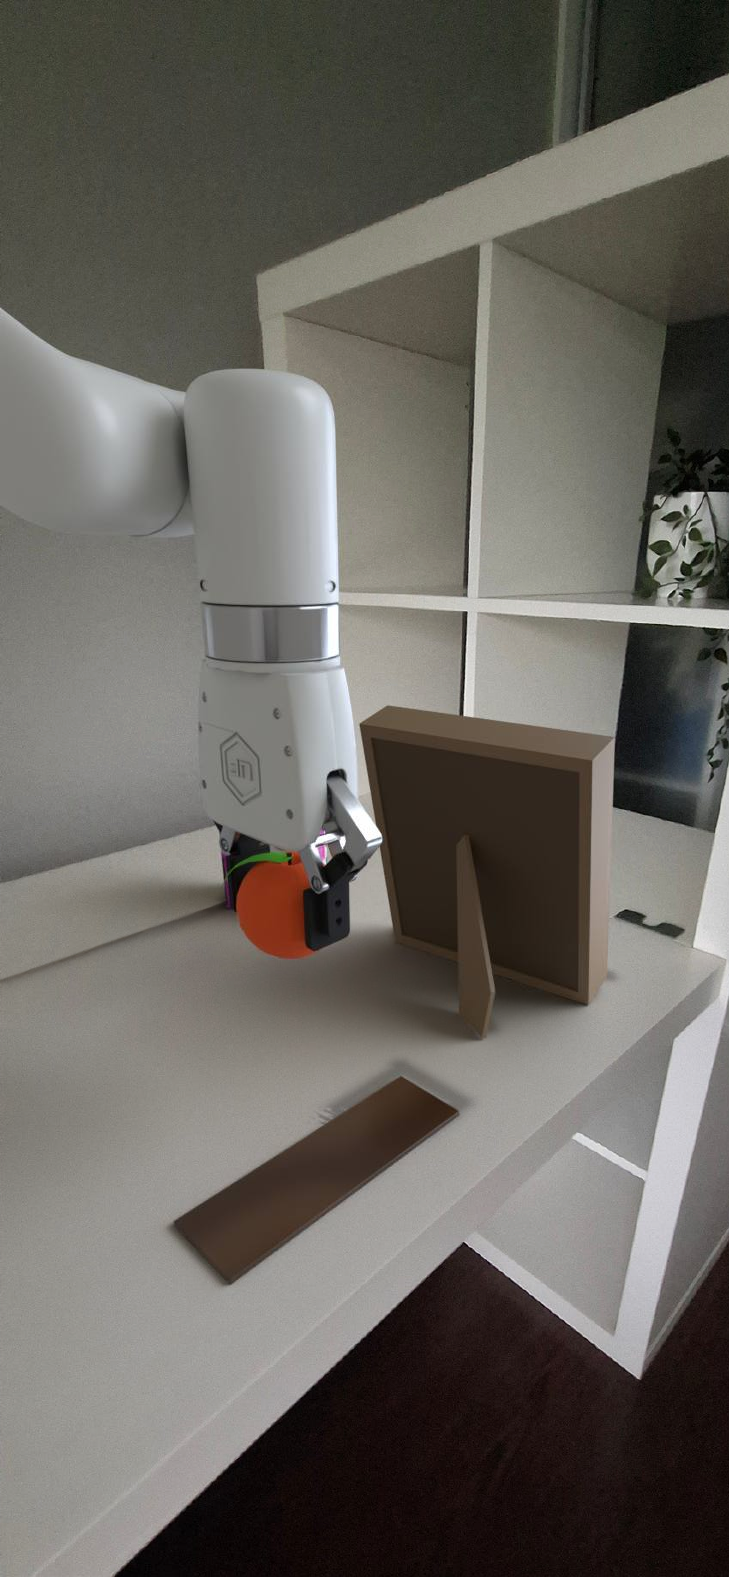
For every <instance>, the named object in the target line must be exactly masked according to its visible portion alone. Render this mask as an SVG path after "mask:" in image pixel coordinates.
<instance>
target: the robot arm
mask: <svg viewBox="0 0 729 1577" xmlns="http://www.w3.org/2000/svg"><path fill="white" fill-rule="evenodd" d="M335 421H336V419H335V412H334V406H333V403H332V401H331V398H330V396H329V394H328V393H327V391H326V389H325V388H323V387H322V386H321V385H320V384H319V383H318V382H317V381H315V380H313V379H310V378H308V377H306V376H303V375H301V374H297V373H294V372H289V371H288V372H287V371H283V370H276V369H275V370H273V369H263V368H227V369H226V368H225V369H219V370H218V369H217V370H214V371H210V372H207V373H204V374H201V375H198V377H196V378H195V379H194V380H193V381H192V382H191V383H190V384H189V386H188V388H187V390H186V391H182V390H177V389H172V388H169V387H165V386H163V385H160V384H156V383H153V382H149V381H147V380H144V379H142V378H139V377H137V376H133V375H130V374H127V373H125V372H121V371H118V370H116V369H113V368H109V367H106V366H105V365H104V366H103V365H101V364H98V363H95V362H92V361H90V360H89V361H88V360H85V359H81V358H78V357H75V356H72V355H69V354H67V353H64V352H63V351H61V350H59V349H58V348H56V347H54V346H53V345H52V344H50V343H48V342H47V341H45V340H44V339H43V338H41V337H39V336H38V335H36V334H35V333H34V332H32V331H31V330H30V329H28V328H27V327H26V326H25V325H24V324H22V323H21V322H20V321H18V319H16V318H14V317H13V315H10V314H9V313H8V312H7V311H5V310H4V309H3V308H2V307H0V507H1V508H4V509H5V510H7V511H8V512H10V513H12V514H13V515H15V516H17V517H19V518H21V519H23V520H25V521H27V522H29V523H30V524H33V525H36V526H39V527H41V528H44V529H46V530H50V531H53V532H58V533H62V534H71V535H107V536H111V535H112V536H129V537H135V538H163V539H165V538H180V537H187V536H193V539H194V540H193V541H194V549H195V559H196V560H195V561H196V572H197V582H198V594H199V601H200V617H201V625H202V626H201V628H202V638H203V649H204V659H202V660H201V667H200V674H199V686H198V687H199V688H198V702H197V703H198V705H197V706H198V708H197V711H198V712H197V723H198V724H197V732H198V733H197V734H198V737H197V738H198V759H199V760H198V762H199V763H198V764H199V779H200V780H199V781H200V782H199V789H200V793H201V801H202V807H203V811H204V812H205V814H206V815H207V816H208V817H209V818H210V819H211V820H212V821H213V823H214V825H215V827H216V828H217V830H218V833H219V832H220V834H221V835H220V836H219V838H218V839H219V840H218V844H219V848H220V851H221V850H222V851H223V852H224V853H225V854H229V853H230V855H228V856H226V868H227V874H228V873H229V872H230V871H231V870H232V869H233V868H234V867H235V866H236V865H237V864H238V863H240V862H242V861H243V860H245V859H247V858H250V857H252V856H254V855H259V854H263V853H270V846H269V845H272V846H274V847H277V848H280V849H283V850H286V851H291V852H295V851H298V853H299V856H300V858H301V861H302V864H303V867H304V870H305V872H306V875H307V878H308V881H309V884H310V886H311V888H308V889H305V890H303V907H304V929H305V944H306V947H307V948H308V949H310V950H312V951H317V952H319V951H321V950H323V949H324V948H327V947H329V946H332V945H333V944H336V943H338V942H340V941H343V940H344V939H347V938H348V937H349V936H350V933H351V911H350V909H351V908H350V907H351V906H350V905H351V904H350V902H351V901H350V883H352V882H354V881H356V879H357V878H358V874H359V873H360V872H361V871H362V870H363V869H364V868H365V867H367V865H368V862H369V860H370V859H371V858H372V857H373V855H374V854H375V853H376V851H377V850H378V849H380V845H381V843H382V835H381V833H380V831H379V830H378V829H377V827H376V823H375V822H374V821H373V819H372V818H371V816H370V815H369V814H368V812H367V811H366V810H365V808H364V806H363V805H362V804H361V803H360V800H359V772H358V770H359V768H358V755H357V743H356V734H355V733H356V732H355V725H354V716H353V708H352V702H351V699H350V692H349V685H348V681H347V676H346V671H345V667H344V666H341V628H340V627H341V626H340V621H341V620H340V603H339V602H340V586H339V585H340V580H339V576H340V574H339V534H338V532H339V531H338V530H339V529H338V528H339V526H338V490H337V448H336V447H337V444H336V443H337V442H336V439H337V438H336V422H335ZM321 830H324V831H325V834H322V835H319V834H320V831H321ZM262 842H264V843H267V844H269V845H266V844H264V845H261V846H260V844H261V843H262ZM323 845H326V846H327V849H328V851H329V853H330V857H331V858H330V859H329V861H327V864H326V865H325V866H324V865H323V863H322V860H321V857H320V854H319V851H318V848H317V847H320V846H323ZM258 862H260V861H255V862H248V863H245V864H242V865H240V866H238V867H236V868H234V869H233V870H232V871H231V872H230V873H229V874H228V876H227V879H228V890H229V902H230V908H231V909H230V910H231V911H234V912H235V913H237V910H236V903H237V894H238V891H239V888H240V886H241V883H242V881H243V879H244V877H245V876H246V874H247V873H248V872H249V871H250V869H251V868H252V867H253V866H254V865H256V864H257V863H258ZM320 949H321V950H320ZM318 950H319V951H318Z"/></svg>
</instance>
